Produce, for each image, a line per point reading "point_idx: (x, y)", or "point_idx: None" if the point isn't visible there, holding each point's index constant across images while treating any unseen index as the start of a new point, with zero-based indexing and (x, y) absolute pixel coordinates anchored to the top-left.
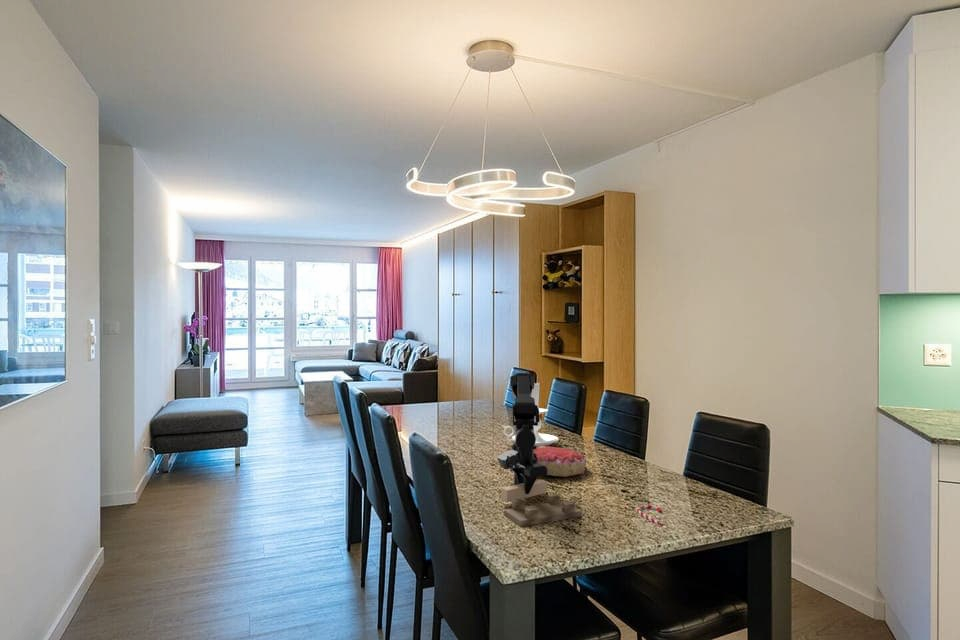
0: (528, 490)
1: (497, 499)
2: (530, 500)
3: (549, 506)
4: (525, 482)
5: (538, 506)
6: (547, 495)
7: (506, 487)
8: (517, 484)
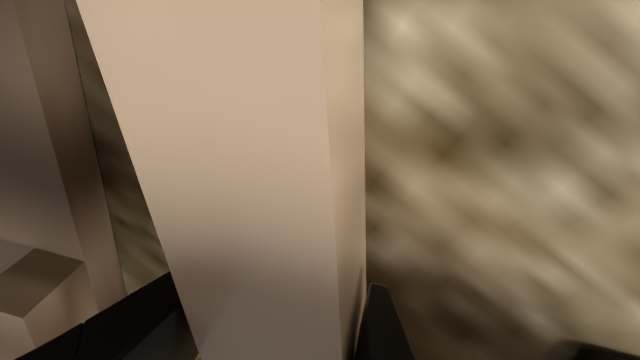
0: None
1: (622, 11)
2: None
3: (5, 219)
4: (39, 351)
5: (9, 151)
6: (28, 312)
7: (267, 3)
8: (331, 312)
